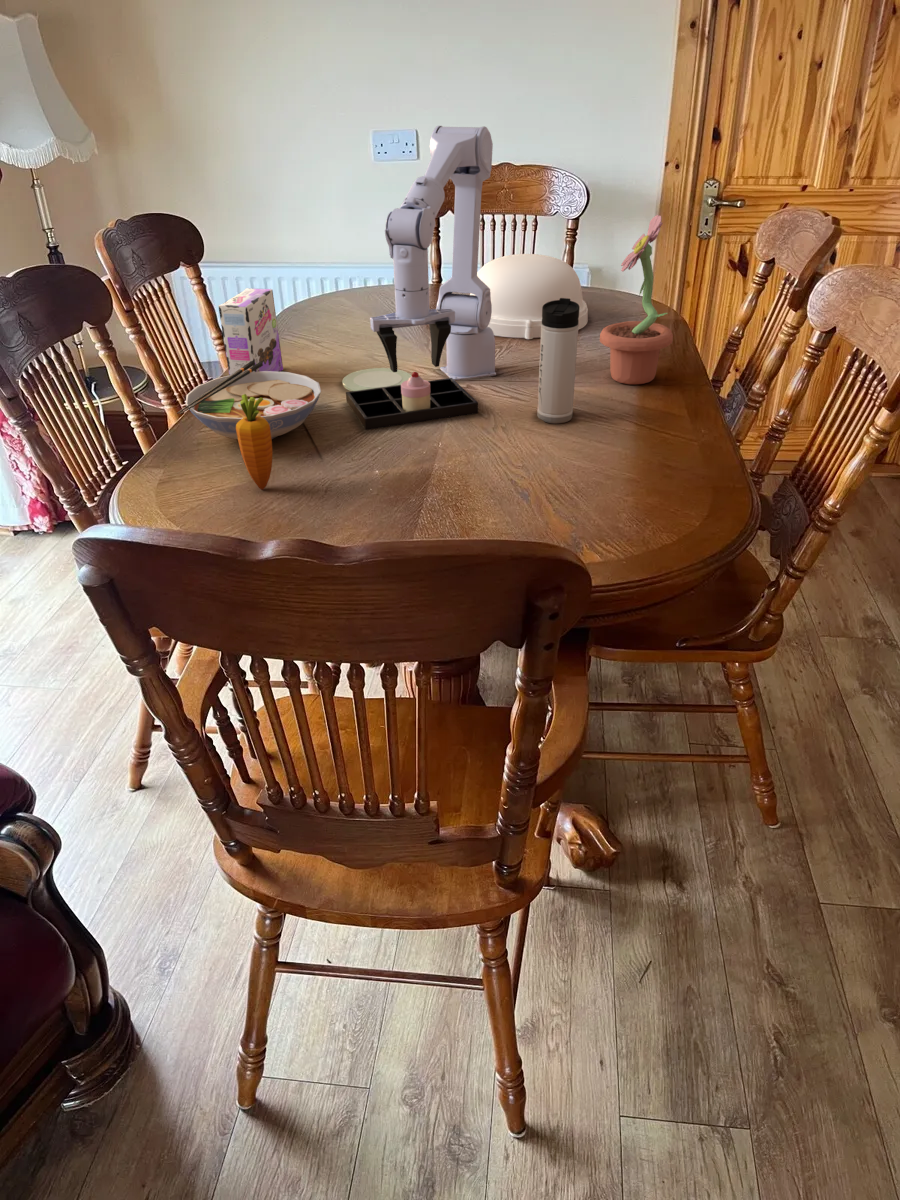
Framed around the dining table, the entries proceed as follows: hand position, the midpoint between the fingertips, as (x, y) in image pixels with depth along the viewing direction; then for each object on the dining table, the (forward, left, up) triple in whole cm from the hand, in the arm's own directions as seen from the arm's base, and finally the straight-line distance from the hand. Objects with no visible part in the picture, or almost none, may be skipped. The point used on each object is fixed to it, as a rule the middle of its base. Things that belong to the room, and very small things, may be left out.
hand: (414, 367), depth 147 cm
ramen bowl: (+28, -2, -9) cm, 30 cm away
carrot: (+31, +20, -9) cm, 38 cm away
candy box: (+24, -30, -9) cm, 40 cm away
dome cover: (-43, -49, -9) cm, 66 cm away
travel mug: (-23, +10, -9) cm, 27 cm away
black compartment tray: (0, -3, -9) cm, 10 cm away
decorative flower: (-46, -3, -9) cm, 47 cm away
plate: (+2, -19, -9) cm, 21 cm away
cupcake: (0, 0, -9) cm, 9 cm away
